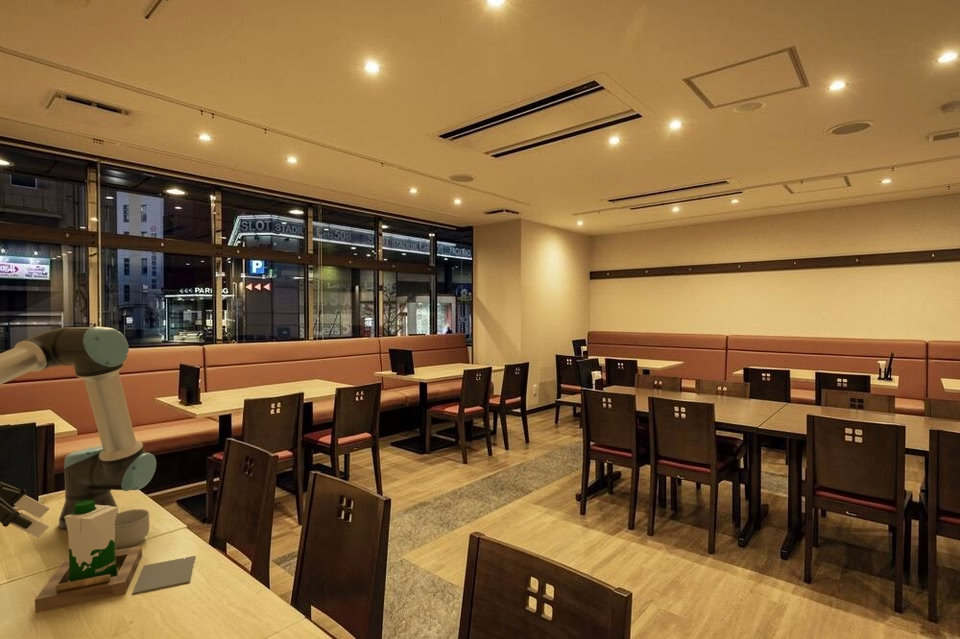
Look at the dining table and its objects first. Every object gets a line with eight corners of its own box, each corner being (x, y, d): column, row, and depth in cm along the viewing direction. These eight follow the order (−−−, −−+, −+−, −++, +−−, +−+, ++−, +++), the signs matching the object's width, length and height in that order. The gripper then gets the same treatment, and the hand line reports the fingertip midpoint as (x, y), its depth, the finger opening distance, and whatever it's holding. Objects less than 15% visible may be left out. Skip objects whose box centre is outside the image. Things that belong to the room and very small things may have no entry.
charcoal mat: (143, 566, 132) (143, 565, 132) (195, 557, 137) (195, 555, 137) (132, 594, 119) (132, 592, 119) (189, 582, 124) (189, 581, 124)
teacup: (158, 538, 149) (157, 511, 149) (122, 555, 139) (121, 526, 138) (125, 531, 153) (124, 505, 153) (87, 547, 143) (87, 520, 143)
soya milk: (95, 570, 130) (93, 495, 130) (124, 574, 129) (122, 497, 128) (61, 589, 122) (59, 509, 121) (92, 593, 120) (89, 511, 119)
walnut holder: (65, 570, 131) (64, 553, 131) (142, 556, 138) (141, 539, 138) (35, 612, 113) (34, 592, 112) (125, 594, 120) (125, 575, 120)
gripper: (-57, 474, 116) (31, 519, 126) (-79, 506, 97) (27, 556, 107) (-25, 447, 120) (58, 493, 130) (-41, 473, 101) (58, 525, 111)
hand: (44, 522), depth 119 cm, fingers open, 13 cm apart
